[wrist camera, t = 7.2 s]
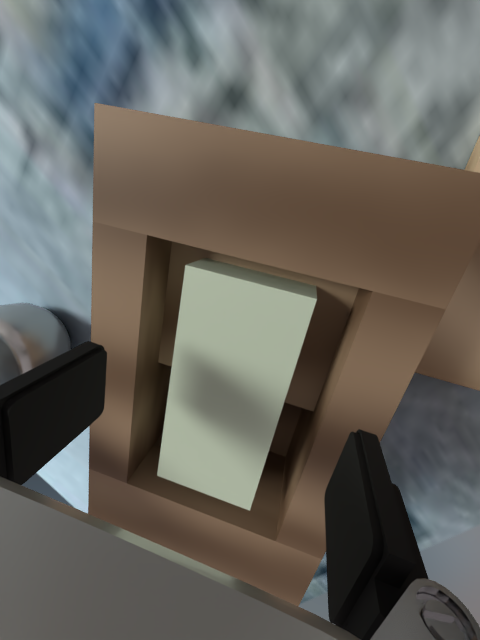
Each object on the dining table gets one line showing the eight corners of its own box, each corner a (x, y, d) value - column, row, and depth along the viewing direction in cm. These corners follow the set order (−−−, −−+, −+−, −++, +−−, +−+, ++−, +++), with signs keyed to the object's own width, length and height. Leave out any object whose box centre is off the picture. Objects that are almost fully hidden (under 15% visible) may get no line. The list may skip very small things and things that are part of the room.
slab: (205, 257, 14) (185, 264, 12) (316, 285, 13) (317, 299, 11) (175, 444, 18) (157, 475, 16) (257, 474, 18) (249, 510, 15)
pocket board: (172, 144, 17) (94, 102, 11) (430, 195, 14) (511, 178, 9) (140, 456, 25) (88, 528, 19) (298, 515, 23) (293, 615, 17)
